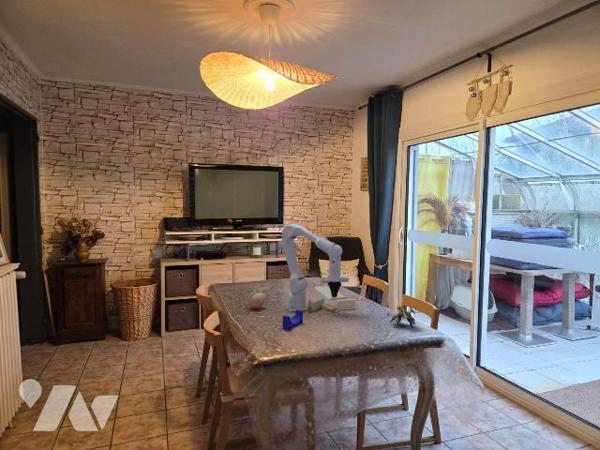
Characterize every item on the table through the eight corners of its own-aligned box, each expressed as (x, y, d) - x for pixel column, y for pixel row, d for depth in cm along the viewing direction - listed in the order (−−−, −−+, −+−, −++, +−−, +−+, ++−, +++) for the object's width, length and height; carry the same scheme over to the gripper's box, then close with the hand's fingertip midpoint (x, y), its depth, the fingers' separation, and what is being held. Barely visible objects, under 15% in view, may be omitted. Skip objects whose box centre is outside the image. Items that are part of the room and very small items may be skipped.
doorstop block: (331, 313, 192) (332, 308, 192) (320, 309, 200) (320, 304, 200) (338, 312, 194) (338, 307, 194) (326, 308, 202) (326, 303, 202)
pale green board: (309, 312, 192) (309, 300, 192) (308, 311, 193) (308, 300, 193) (355, 308, 200) (355, 297, 199) (354, 308, 201) (354, 297, 201)
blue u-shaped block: (294, 321, 178) (294, 309, 177) (302, 323, 175) (303, 310, 175) (279, 328, 167) (279, 315, 167) (288, 330, 165) (288, 317, 165)
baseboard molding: (326, 300, 219) (346, 299, 222) (326, 295, 219) (346, 294, 221) (311, 288, 249) (329, 288, 252) (311, 284, 249) (329, 283, 252)
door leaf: (313, 311, 193) (313, 302, 193) (310, 311, 194) (310, 302, 194) (324, 306, 204) (324, 297, 204) (321, 305, 205) (321, 297, 204)
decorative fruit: (256, 305, 204) (256, 287, 203) (268, 308, 199) (268, 289, 199) (243, 309, 196) (244, 290, 196) (255, 312, 192) (256, 292, 191)
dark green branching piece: (410, 339, 171) (423, 322, 165) (388, 336, 169) (400, 318, 162) (403, 318, 180) (415, 302, 173) (382, 315, 178) (393, 298, 171)
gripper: (323, 271, 183) (323, 299, 184) (351, 270, 187) (351, 298, 188) (318, 269, 190) (318, 296, 191) (345, 268, 194) (345, 294, 195)
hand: (334, 297), depth 190 cm, fingers closed
